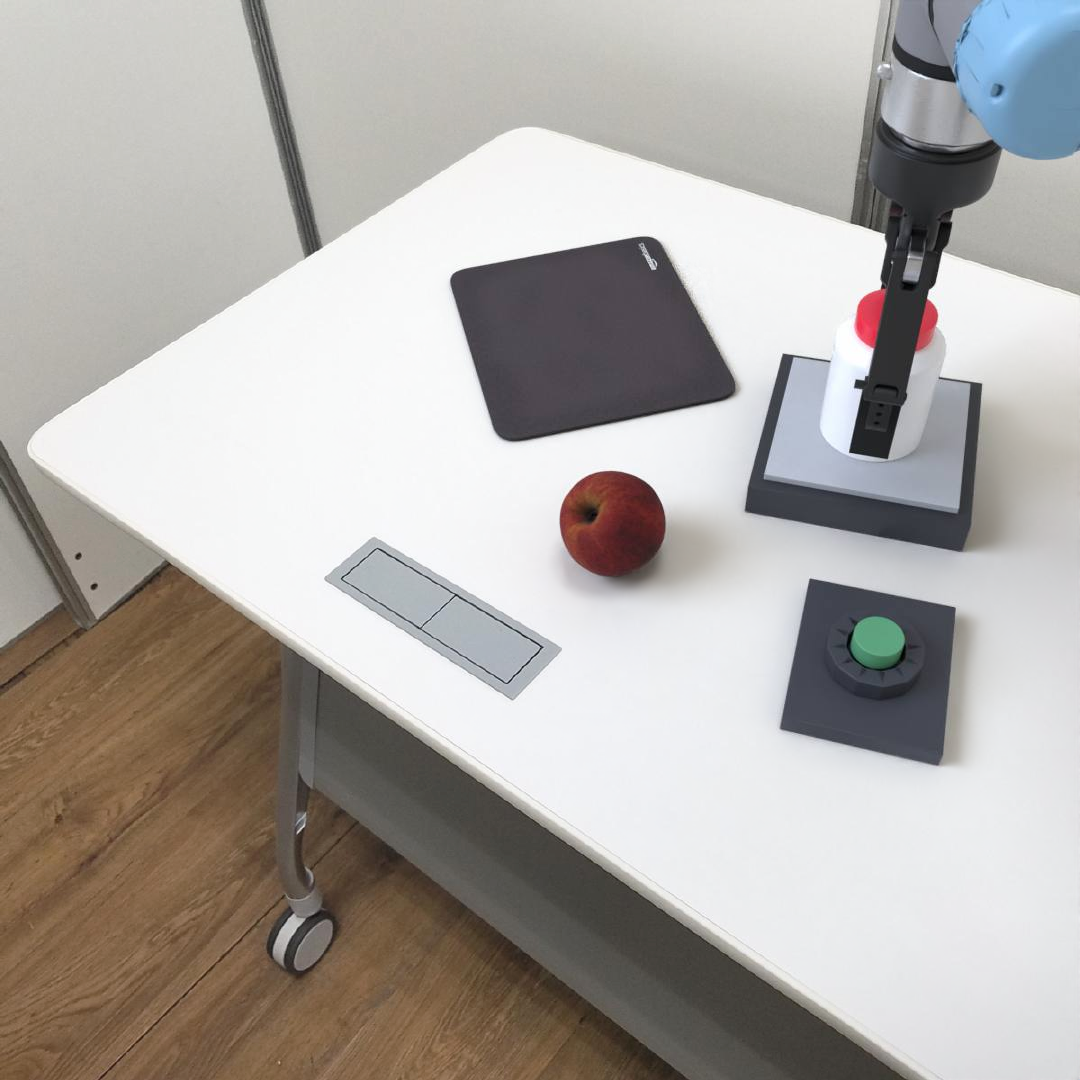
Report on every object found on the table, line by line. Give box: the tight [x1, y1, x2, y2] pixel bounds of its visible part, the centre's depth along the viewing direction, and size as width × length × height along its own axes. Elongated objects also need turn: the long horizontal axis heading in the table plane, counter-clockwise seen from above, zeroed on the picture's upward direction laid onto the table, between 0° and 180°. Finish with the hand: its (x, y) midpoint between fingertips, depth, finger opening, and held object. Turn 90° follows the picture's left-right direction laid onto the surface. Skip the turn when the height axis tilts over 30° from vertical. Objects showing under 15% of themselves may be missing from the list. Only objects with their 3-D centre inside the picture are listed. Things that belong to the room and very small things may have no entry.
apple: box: [559, 470, 667, 577], centre depth 79 cm, size 7×8×8 cm
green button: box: [851, 617, 905, 669], centre depth 71 cm, size 3×3×2 cm
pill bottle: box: [819, 288, 947, 462], centre depth 80 cm, size 8×8×11 cm
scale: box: [744, 353, 983, 553], centre depth 86 cm, size 16×16×3 cm
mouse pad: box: [449, 235, 736, 441], centre depth 99 cm, size 25×21×1 cm
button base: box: [779, 578, 957, 766], centre depth 73 cm, size 12×10×3 cm
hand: (878, 392), depth 82 cm, fingers open, 12 cm apart
